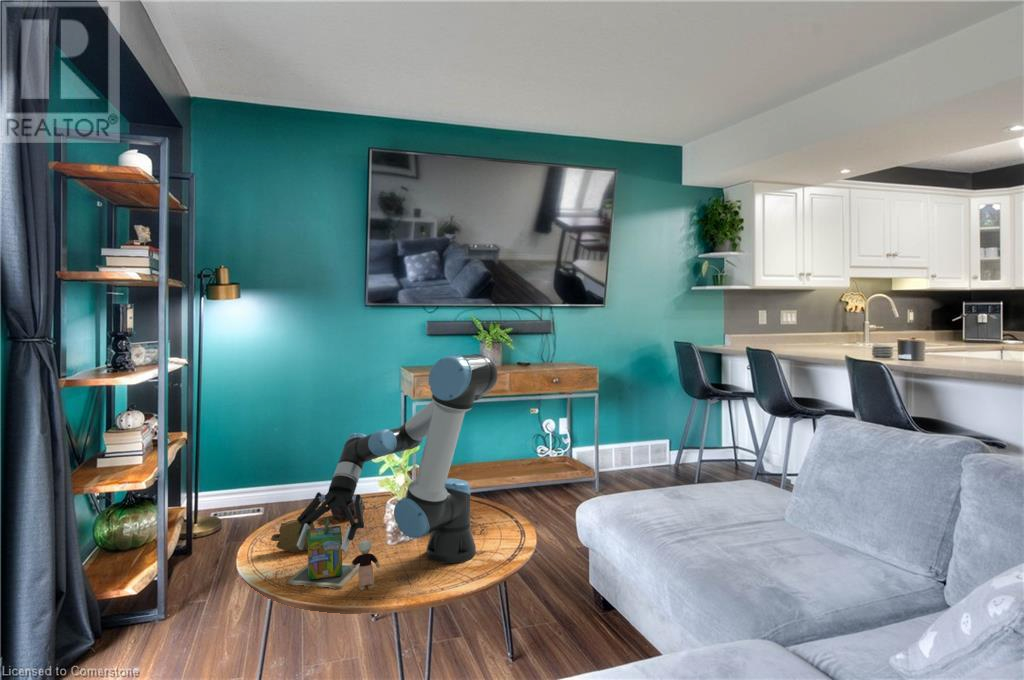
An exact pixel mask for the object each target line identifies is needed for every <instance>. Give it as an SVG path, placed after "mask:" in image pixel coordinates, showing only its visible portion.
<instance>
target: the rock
mask: <svg viewBox="0 0 1024 680" xmlns="http://www.w3.org/2000/svg"><path fill="white" fill-rule="evenodd" d="M356 495H358V494H356V493H354V495H353V496H356ZM348 507H349V509H350V512H351V514H352V516H353V518H356V517H357V515H356V508H355V503H354V501H352V502H351V503H350V504H349V505H348ZM361 507H362V514H364V513H365V509H366V505H365V504H364V503H362V504H361ZM330 512H331V514H332V517H333V518H337V519H339V520H341V519H344V520H345V519H347V520H348V518H347V515H346V513H345V511H344V509H343V510H341V511H339V510H331V509H330Z"/></svg>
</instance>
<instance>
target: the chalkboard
mask: <svg viewBox="0 0 1024 680" xmlns="http://www.w3.org/2000/svg"><path fill="white" fill-rule="evenodd" d="M351 565H352V563H343V562H342V573H343V574H342V576H335V577H327V578H320V579H314V580H309V576H308V563H307V564H306V565H305V566H303V567H301V569H300V570H298V571H297V572H296V573H295V574H293V575H292V576H291V577H290V578H289V579H287V580H286V581H285V585H286V584H294V585H293V586H298V585H304V586H303V587H310V586H318V587H317V588H323V587H329V588H328V589H336V588H340V589H339V590H341V589H343V588H344V587H345V586H346V584H348V583H349V581H351V580H352V578H354V577H355V575H356V574H358V573H359V565H360V564H357V565H355V567H354V569H353V570H351V569H350V567H351Z"/></svg>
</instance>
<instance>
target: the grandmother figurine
mask: <svg viewBox="0 0 1024 680" xmlns="http://www.w3.org/2000/svg"><path fill="white" fill-rule="evenodd" d="M370 550H372V544H371V541H370V540H367V539H365V540H362V541H361V542H360V543H359V545H358V551H360V552H361V554H359V555H357V556H355V558H354V559H353V560H352V561H351V564H352V565H351V567H350V569H351V570H353V569H354V567H355V565H357V564H359V571H358V584H359V585H358V589H359V590H360V591H363V590H366V589H367V588H368V589H374V588H375V587H376V583H375V582H374V581H375V579H374V568H373V564H372V563H374V565H375V567H376V568H377V569H379V568H380V567H381V565H380V563H379V560H378V558H377V557H376V555H374V554H372V553H370Z"/></svg>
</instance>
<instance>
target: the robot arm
mask: <svg viewBox="0 0 1024 680" xmlns="http://www.w3.org/2000/svg"><path fill="white" fill-rule="evenodd" d="M498 376H499V374H498V368H497V367H496V363H494V361H493V360H492V359H491V358H490V357H488V356H486V355H485V354H479V353H478V354H477V353H475V354H462V355H461V354H460V355H458V354H452V355H448V356H445V357H444V356H443V357H442V358H440V359H439V360H437V361H435V363H433V366H432V367H431V369H430V371H429V373H428V385H429V386H430V388H429V390H430V392H431V393H432V395H431V400H432V401H430V402H429V403H428V404H426V405H425V406H424V407H423V408H421V409H420V410H419V411H418V412H416V413H415V415H413V416H412V417H410V418H409V419H408V420H406V422H404V423H403V424H402V425H401V426H399V427H396V428H391V429H386V428H385V429H381V430H376V431H374V432H373V433H370V434H368V435H367V434H365V433H361V432H357V433H356V432H353V433H350V435H348V437H347V439H346V441H345V443H344V445H343V449H342V452H341V454H340V456H339V460H338V462H337V466H336V468H335V471H334V472H333V477H332V478H331V481H330V484H329V487H328V491H327V493H326V494H324V493H321V492H320V491H318V492H316V495H315V496H314V498H313V500H312V501H311V502H310V504H308V506H307V507H306V508H305V509H304V510H303V511H302V513H300V515H299V516H298V517H297V518H296V520H297V521H298V522H299V523H300V524H301V528H300V530H299V536H300V537H299V540H298V543H297V545H296V546H297V547H298V548H299V549H300V550H303V547H304V544H305V542H306V539H307V536H308V529H310V527H309V525H311V524H312V523H314V522H316V521H317V520H318V519H319V518H321V517H322V516H323V515H324V514H325V513H328V512H329V511H331V510H339V511H341V510H343V509H344V511H345V513H346V515H347V518H348V519H347V520H348V523H349V525H347V527H346V531H345V534H344V535H343V536H344V537H343V538H342V545H341V550H342V553H344V554H346V553H347V552H348V551H347V550H349V549H348V548H349V545H350V541H353V540H354V538H355V535H356V532H357V530H358V529H364V528H365V521H364V516H363V514H364V513H362V507H361V504H363V498H362V496H361V494H360V493H359V494H357V495H356V496H353V495H355V492H356V489H357V486H358V483H359V480H360V477H361V473H362V471H363V468H364V466H365V463H366V462H370V461H371V460H375V459H378V458H381V457H385V456H388V455H393V454H395V453H399V452H404V451H408V450H412V449H413V450H414V449H416V448H417V447H419V446H421V444H422V443H423V441H424V438H425V437H426V439H425V442H424V446H423V451H422V454H421V458H420V463H419V466H418V469H417V470H418V471H417V474H416V478H415V479H414V480H413V481H410V483H409V484H408V487H407V491H406V494H405V497H403V498H401V499H400V500H398V501H397V502H396V503H395V505H394V509H393V517H394V521H395V524H396V525H397V528H398V529H399V531H400V532H401V533H402V534H403V535H404V536H406V537H408V538H411V539H418V538H421V537H425V536H427V535H428V534H430V537H429V539H428V542H427V545H426V557H427V559H429V560H430V561H433V562H436V563H441V564H456V563H462V562H463V563H464V562H466V561H469V560H471V559H473V558H474V557H475V556H476V550H477V549H476V548H477V547H476V543H475V540H474V537H473V534H472V530H471V494H472V493H471V486H470V485H471V484H470V483H469V482H468V481H466V480H464V479H460V478H452V477H451V478H450V477H448V476H449V473H450V468H451V466H452V462H453V458H454V456H455V455H454V454H455V452H456V447H457V444H458V441H459V436H460V433H461V429H462V425H463V423H464V419H465V415H466V412H469V411H470V410H472V409H473V406H474V402H476V401H479V400H480V399H482V398H483V397H484V396H485V395H486V394H488V393H489V392H491V390H493V388H494V387H495V385H496V384H497V381H498ZM352 501H354V503H355V508H356V515H357V516H356V521H357V522H356V521H355V519H354V518H355V517H353V516H352V514H351V512H350V509H349V507H348V505H349V504H350V503H351V502H352Z"/></svg>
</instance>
